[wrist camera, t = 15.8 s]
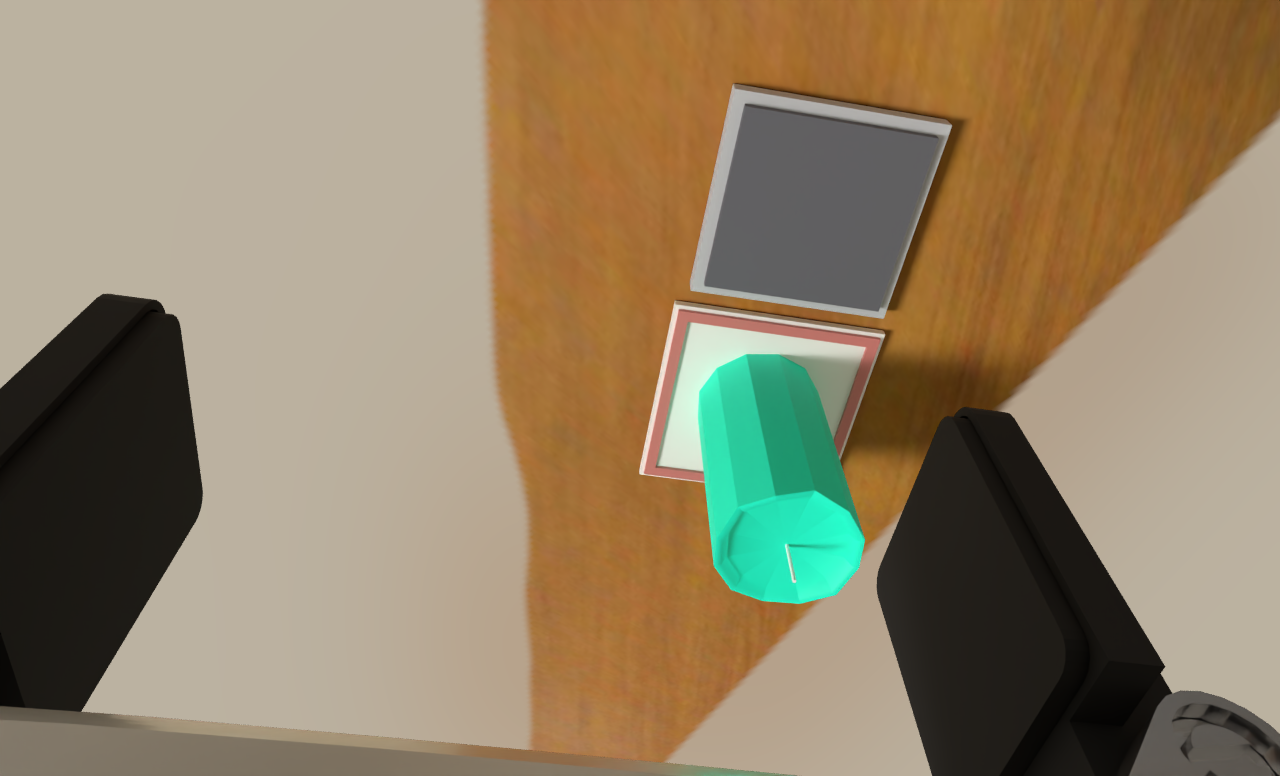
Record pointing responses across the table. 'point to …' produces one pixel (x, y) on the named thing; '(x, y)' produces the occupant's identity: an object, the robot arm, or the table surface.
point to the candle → (775, 483)
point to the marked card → (727, 334)
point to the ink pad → (814, 201)
